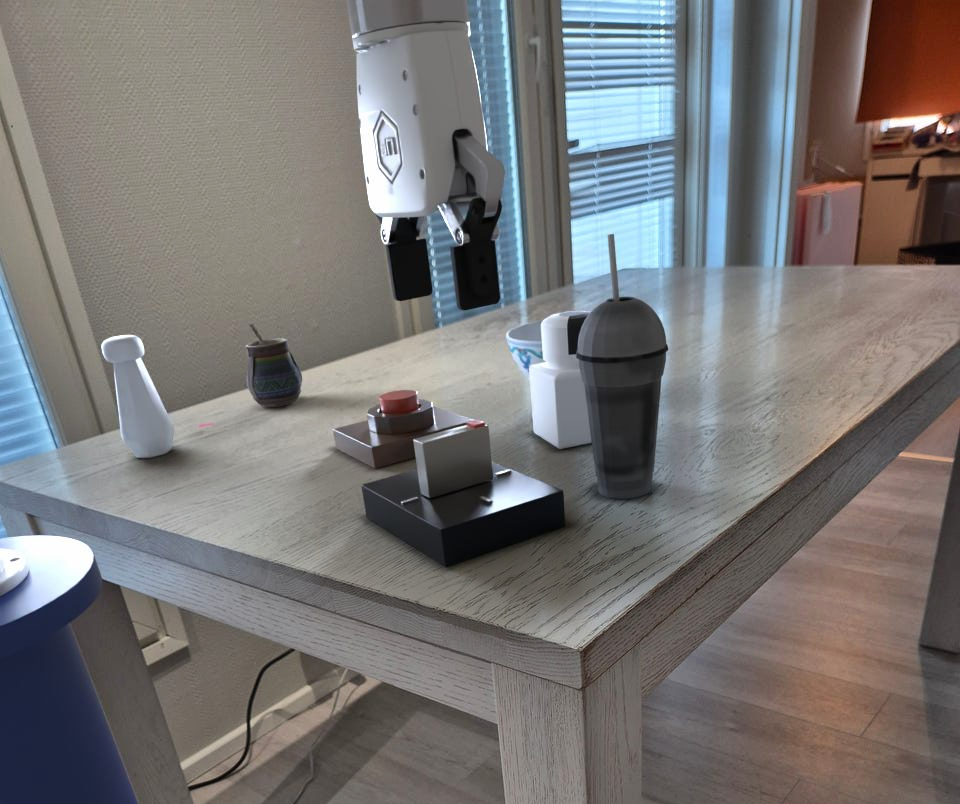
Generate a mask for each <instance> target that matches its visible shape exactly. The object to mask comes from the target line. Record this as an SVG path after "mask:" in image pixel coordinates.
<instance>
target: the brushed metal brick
mask: <svg viewBox="0 0 960 804" xmlns="http://www.w3.org/2000/svg"><path fill="white" fill-rule="evenodd" d="M473 420H474V421H470V422H466V425H465V426H461V427H457V428H454V429H450V430H446V431H442V432H439V433H435V434H431V435H427V436H424V437H420V438H416V439H413V442H414V449H415V456H416V457H415V461H416V469H417V470H418V477H419V484H420V491H421V494H422V495H424V496H426V497H428V498H433V497H437V496H440V495H443V494H447V493H450V492H453V491H457V490H460V489H463V488H467V487H470V486H473V485H477V484H480V483H483V482H486V481H490V480H493V468H492V462H493V461H492V460H493V458H492V450H491V439H490V430H489V428H490V427H489V425H488V424H486V422H484V421H481V420H478V419H473Z"/></svg>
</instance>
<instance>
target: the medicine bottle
mask: <svg viewBox="0 0 960 804" xmlns="http://www.w3.org/2000/svg"><path fill="white" fill-rule="evenodd" d="M591 311H592V310H571V311H564V312H563V311H562V312H557V313H554V314H551V315H549V316H547V317H546V318H544V319H543V322H542V323H541V336H542V351H543V360H544V361H546V362H545V363H539V364H534V365H531V366H530V367H529V376H530V380H529V388H530V401H531V415H532V429H533V433H534V434H535V435H536V436H538V437H540V438H541V439H543V440H544V441H546V442H548V443H549V444H550V445H552V446H554V447H555V448H557V449H559V450H563V449H568V448H572V447H578V446H582V445H587V444H592V441H591V433H590V425H589V417H588V409H587V401H586V394H585V386H584V383H583V381H582V377H581V372H580V368H579V359H577V358H576V352H577V350H578V339H579V334H580V330H581V327H582V325H583V323H584V321H585V319H586V318H587V316H588V315H589V314H590V312H591Z"/></svg>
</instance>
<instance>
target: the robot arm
mask: <svg viewBox="0 0 960 804" xmlns="http://www.w3.org/2000/svg"><path fill="white" fill-rule="evenodd" d="M346 6H347V13H348V19H349V20H348V21H349V24H350V25H349V26H350V33H351V39H352V45H353V46H352V47H353V50H354V52H357V53H356V90H357V91H356V96H357V111H358V122H359V133H360V142H361V151H362V160H363V161H362V162H363V168H364V177H365V184H366V191H367V199H368V204H369V207H370V209H371V211H372V212H373V213H374V214H375V217H376V218H377V220H378V223H379V224H380V225H381V228H380V236H381V241H382V242H383V244H384V246H385V252H386V258H387V265H388V273H389V277H390V278H389V279H390V284H391V292H392V297H393V300H395V301H397V302H404V301H409V300H414V299H420V298H424V297H428V296H431V295H432V294H433V291H434V290H433V289H434V288H433V283H432V275H431V267H430V266H431V265H430V259H429V250H428V243H427V239H426V238H420V237H421V233H422V229H423V224H424V220H425V217H429V216H432V215H434V214H435V213H436V211H440V213H441V215H442V217H443V219H444V222H445V223H446V226H447V227H448V230H449V232H450V234H451V236H452V238H453V240H454V242H455V244H456V245H452V246H449V250H450V251H449V252H450V260H451V269H452V278H453V286H454V294H455V303H456V307H457V309H458V310H460V311H469V310H473V309H479V308H483V307H488V306H493V305H498V303H500V301H501V291H500V280H499V279H500V278H499V269H498V258H497V247H496V241H497V240H498V238H499V236H500V229H499V225H498V221H499V219H500V216H501V214H502V211H503V204H502V201H501V199H502V193H503V187H504V181H505V174H506V171H505V166H504V164H503V163H502V161H500V160H499V159H498V158H497V157H496V156H495V155H493V153H492V152H491V151H489V150H488V141H487V132H486V125H485V118H484V111H483V104H482V98H481V97H482V96H481V90H480V85H479V80H478V74H477V68H476V64H475V58H474V54H473V50H472V46H471V41H470V36H471V27H470V19H469V8H468V0H346ZM463 214H466V215H465V218H464V217H463ZM28 571H29V567H28V564H27V561H26V559H25V557H24V555H22V554H21V553H19V552H17V551H13V550H9V549H0V597H1V596H3V595H5V594H6V593H8V592H9V591H11V590H13V589H14V588H15V587H16V586H18V585H19V584H20V583H21V582H22V581H23V580H24V579H25V577H26V576H27V574H28Z"/></svg>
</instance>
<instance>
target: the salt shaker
mask: <svg viewBox="0 0 960 804" xmlns="http://www.w3.org/2000/svg"><path fill="white" fill-rule="evenodd" d="M101 352H102V355H103V358H104V359H105V361H107V362H109V363H112V364H113V374H114V383H115V384H114V385H115V394H116V403H117V411H118V412H117V413H118V420H119V430H120V437H121V439H122V441H123V443H124V444H125V445H126V446H127V447H128V448H129V449H130V450H131V451H132V453H133V454H134V456H135V457H136V458H141V459H142V458H149V459H150V458H154V457H158V456H161V455H165V454H167V453H169V452H170V451H171V450H173V445H174V444H173V443H174V436H175V435H174V434H175V428H174V425H173V422H172V420H171V419H170V416H169V414H168V412H167V410H166V407H165V405H164V404H163V401H162V399H161V397H160V395H159V393H158V391H157V389H156V386H155V385H154V383H153V380H152V378H151V376H150V374H149V372H148V370H147V368H146V365H145V363H144V362H143V360H142V357H143V356H144V355H145V347H144V344H143V341H142V339H141V338H140V337H138V335H135V334H134V335H133V334H123V335H115V336H111V337H109V338H106V339H104V340H103V342H102V343H101Z"/></svg>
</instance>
